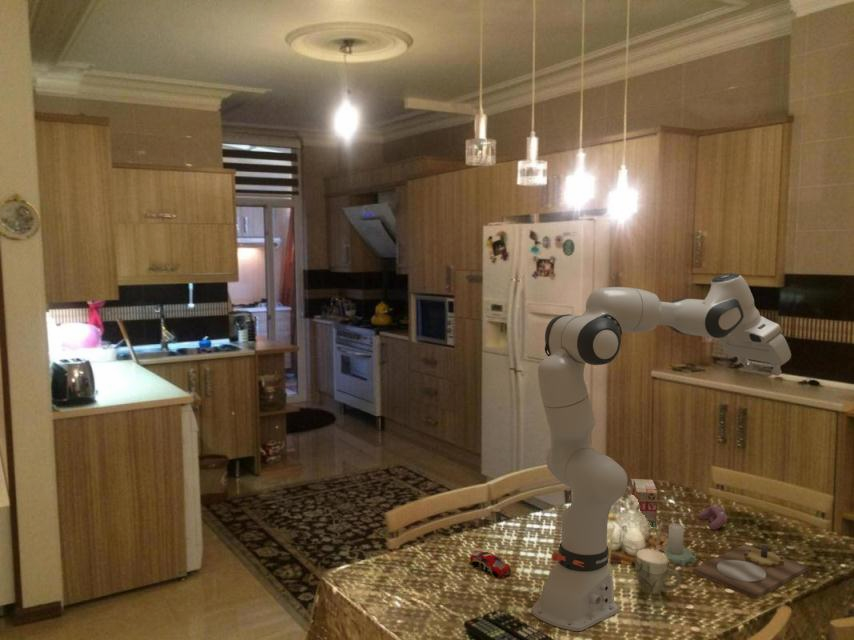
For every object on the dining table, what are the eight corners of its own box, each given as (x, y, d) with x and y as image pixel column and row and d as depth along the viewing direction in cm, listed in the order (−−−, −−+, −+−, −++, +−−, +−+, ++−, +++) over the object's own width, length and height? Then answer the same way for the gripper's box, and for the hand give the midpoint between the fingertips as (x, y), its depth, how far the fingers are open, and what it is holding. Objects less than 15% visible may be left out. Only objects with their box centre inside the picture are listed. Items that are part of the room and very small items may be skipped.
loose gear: (687, 569, 192) (688, 537, 191) (648, 558, 199) (649, 527, 198) (701, 555, 200) (702, 525, 199) (664, 545, 207) (665, 516, 206)
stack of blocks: (630, 504, 241) (630, 469, 240) (649, 505, 240) (650, 470, 238) (635, 529, 220) (636, 491, 219) (656, 530, 219) (657, 492, 218)
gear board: (756, 599, 175) (757, 578, 175) (692, 572, 190) (692, 553, 189) (807, 570, 190) (808, 551, 190) (744, 548, 205) (745, 530, 204)
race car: (514, 575, 190) (515, 561, 189) (500, 581, 186) (500, 567, 186) (481, 559, 200) (481, 545, 200) (467, 564, 197) (467, 550, 196)
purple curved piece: (721, 535, 218) (732, 516, 217) (708, 529, 218) (719, 509, 217) (709, 523, 228) (719, 504, 227) (696, 517, 228) (707, 498, 227)
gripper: (709, 330, 195) (726, 371, 198) (768, 338, 176) (786, 384, 179) (725, 318, 196) (742, 359, 200) (785, 325, 177) (802, 371, 181)
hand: (763, 371), depth 189 cm, fingers open, 8 cm apart
